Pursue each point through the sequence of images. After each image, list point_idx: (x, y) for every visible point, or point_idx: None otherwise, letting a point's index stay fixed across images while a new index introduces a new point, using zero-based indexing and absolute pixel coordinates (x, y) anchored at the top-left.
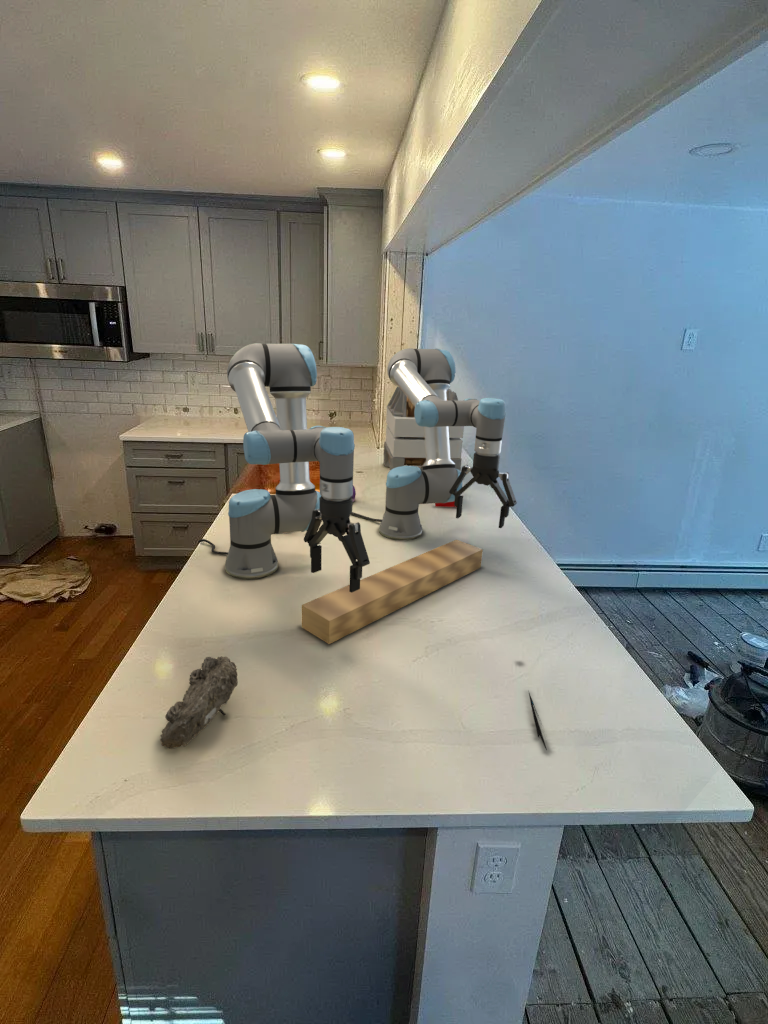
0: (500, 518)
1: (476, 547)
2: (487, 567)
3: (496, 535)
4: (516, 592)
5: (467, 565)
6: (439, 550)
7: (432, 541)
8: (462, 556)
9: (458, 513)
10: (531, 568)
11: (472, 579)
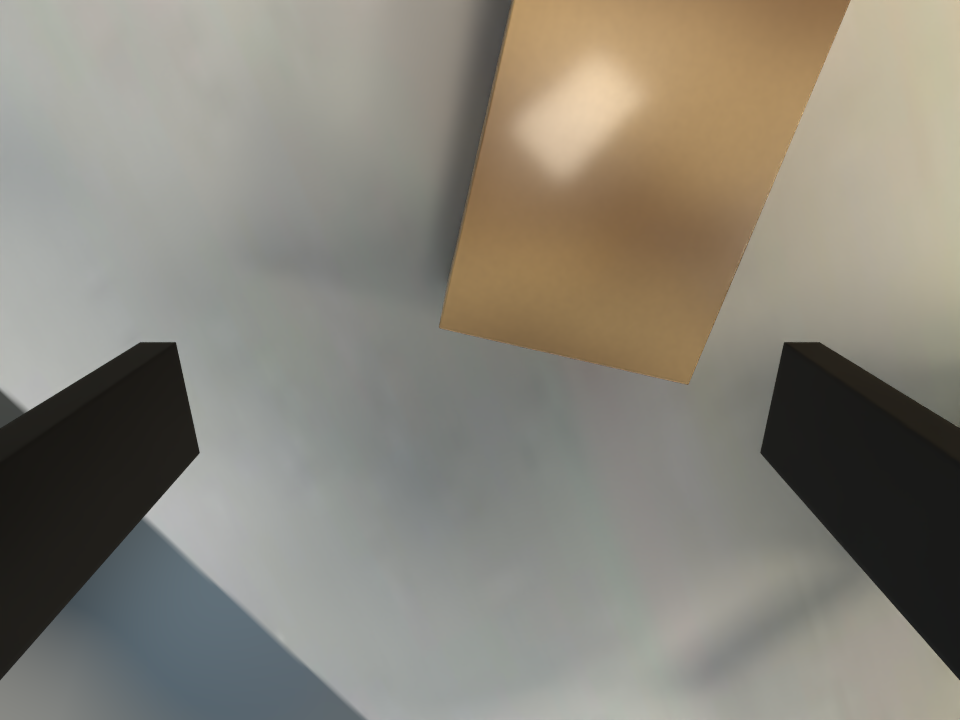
0: (66, 405)
1: (494, 329)
2: (413, 312)
3: (528, 700)
4: (95, 56)
5: (485, 118)
6: (761, 70)
7: None
8: (528, 66)
9: (828, 372)
10: (200, 443)
11: (422, 71)
